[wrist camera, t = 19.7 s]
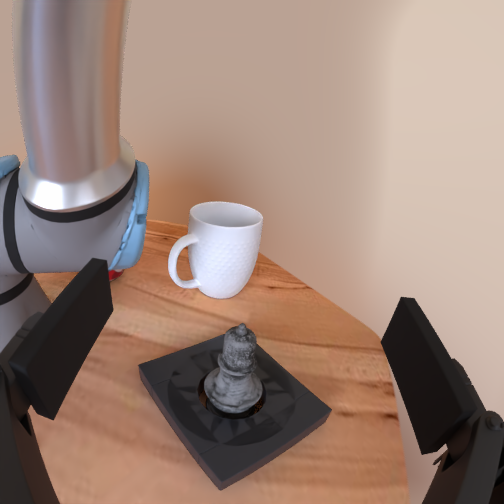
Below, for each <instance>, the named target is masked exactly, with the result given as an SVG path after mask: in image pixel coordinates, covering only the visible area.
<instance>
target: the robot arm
mask: <svg viewBox="0 0 504 504" xmlns="http://www.w3.org/2000/svg"><path fill="white" fill-rule="evenodd" d="M130 5H131V0H13V10H12V39H13V40H12V41H13V61H14V73H15V83H16V92H17V100H18V107H19V113H20V119H21V125H22V131H23V135H24V141H25V146H26V151H27V157H26V158H25V160H24V161H23V163H22V165H21V168H19V166H20V162H19V160H18V157H17V156H16V155H9V156H3V157H0V504H60V503H59V501H58V498H57V496H56V493H55V491H54V489H53V486H52V484H51V481H50V478H49V476H48V473H47V470H46V467H45V465H44V462H43V459H42V456H41V453H40V450H39V446H38V443H37V440H36V436H35V433H34V429H33V426H32V422H31V418H30V415H29V413H28V409H29V407H30V405H32V407H33V408H34V410H35V411H36V413H37V414H39V415H41V416H44V417H46V418H49V419H51V420H54V418H55V416H56V414H57V412H58V410H59V408H60V406H61V404H62V402H63V400H64V398H65V396H66V394H67V392H68V390H69V389H70V387H71V385H72V383H73V381H74V379H75V377H76V375H77V373H78V371H79V370H80V368H81V366H82V364H83V362H84V360H85V359H86V357H87V355H88V353H89V351H90V350H91V348H92V346H93V344H94V343H95V341H96V339H97V337H98V336H99V334H100V332H101V331H102V329H103V327H104V325H105V324H106V322H107V320H108V319H109V317H110V315H111V314H112V312H113V304H112V297H111V289H110V281H109V271H111V270H117V269H127V268H131V267H133V266H134V265H135V264H136V263H137V262H138V261H139V259H140V257H141V254H142V250H143V246H144V239H145V232H146V216H147V210H148V201H149V170H148V166H147V165H146V164H145V163H144V162H139V161H138V160H135V154H134V150H133V148H132V146H131V145H130V143H129V142H128V141H127V140H126V139H125V138H123V137H122V136H121V135H120V134H119V131H120V102H121V85H122V71H123V60H124V49H125V41H126V32H127V25H128V18H129V11H130ZM54 272H79V273H78V274H77V275H76V276H75V277H74V279H73V280H72V281H71V282H70V283H69V284H68V285H67V287H66V288H65V289H64V290H63V291H62V292H61V294H60V295H59V296H58V297H57V298H56V300H55V301H54V302H53V303H52V304H51V302H50V301H49V299H48V298H47V296H46V294H45V293H44V291H43V290H42V288H41V287H40V285H39V283H38V282H37V280H36V278H35V277H34V273H54ZM381 344H382V347H383V349H384V352H385V354H386V357H387V359H388V362H389V364H390V367H391V369H392V372H393V374H394V377H395V380H396V382H397V385H398V387H399V390H400V393H401V396H402V398H403V401H404V404H405V407H406V409H407V412H408V415H409V418H410V421H411V423H412V427H413V429H414V432H415V435H416V439H417V442H418V445H419V448H420V451H421V454H422V455H423V454H428V453H433V452H437V451H438V450H439V449H440V448H441V447H442V446H443V445H444V444H445V443H446V445H447V448H448V449H447V450H446V451H445V452H444V453H443V454H442V455H441V456H440V457H439V458H438V459H436V460H435V462H434V463H433V465H435V464H437V463H438V462H439V461H440V460H441V462H440V464H439V466H438V469H437V472H436V474H435V476H434V479H433V481H432V483H431V485H430V488H429V490H428V492H427V494H426V497H425V498H424V500H423V502H422V504H504V422H503V420H502V418H501V417H500V416H499V415H498V414H497V413H496V412H493V411H486V409H485V407H484V405H483V403H482V401H481V400H480V398H479V396H478V394H477V392H476V390H475V388H474V386H473V385H471V381H470V379H469V378H468V377H467V376H468V375H467V374H466V372H465V370H464V368H463V367H462V366H461V364H459V362H457V360H455V359H451V357H450V355H449V354H448V352H447V350H446V349H445V347H444V345H443V344H442V342H441V340H440V338H439V337H438V335H437V333H436V332H435V330H434V329H433V327H432V326H431V324H430V322H429V320H428V319H427V317H426V316H425V314H424V313H423V311H422V309H421V308H420V306H419V305H418V303H417V302H416V300H415V299H414V298H407V297H401V298H400V301H399V303H398V305H397V308H396V310H395V312H394V314H393V317H392V319H391V321H390V323H389V326H388V328H387V330H386V332H385V334H384V336H383V338H382V340H381Z"/></svg>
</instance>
